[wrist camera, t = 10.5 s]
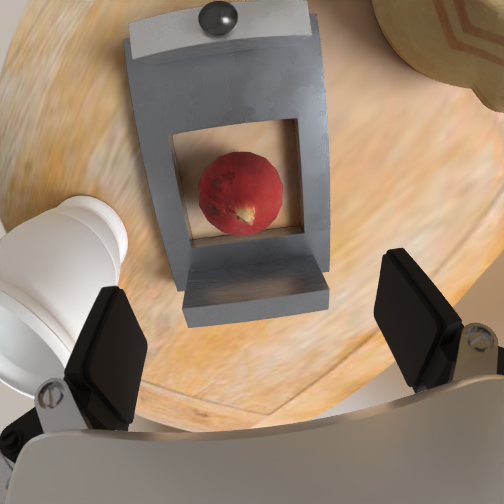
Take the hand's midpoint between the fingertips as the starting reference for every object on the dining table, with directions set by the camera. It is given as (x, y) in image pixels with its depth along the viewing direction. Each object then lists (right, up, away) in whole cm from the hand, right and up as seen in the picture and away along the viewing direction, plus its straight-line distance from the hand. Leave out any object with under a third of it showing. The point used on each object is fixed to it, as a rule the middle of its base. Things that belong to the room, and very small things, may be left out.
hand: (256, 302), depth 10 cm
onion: (-1, +8, +14) cm, 16 cm away
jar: (-15, +3, +15) cm, 22 cm away
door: (-2, +17, +7) cm, 18 cm away
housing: (-1, +9, +13) cm, 16 cm away
